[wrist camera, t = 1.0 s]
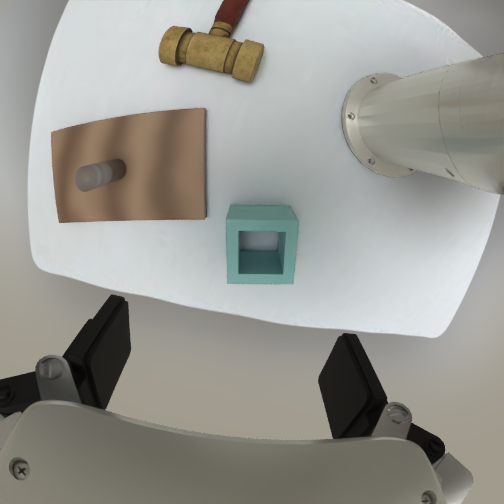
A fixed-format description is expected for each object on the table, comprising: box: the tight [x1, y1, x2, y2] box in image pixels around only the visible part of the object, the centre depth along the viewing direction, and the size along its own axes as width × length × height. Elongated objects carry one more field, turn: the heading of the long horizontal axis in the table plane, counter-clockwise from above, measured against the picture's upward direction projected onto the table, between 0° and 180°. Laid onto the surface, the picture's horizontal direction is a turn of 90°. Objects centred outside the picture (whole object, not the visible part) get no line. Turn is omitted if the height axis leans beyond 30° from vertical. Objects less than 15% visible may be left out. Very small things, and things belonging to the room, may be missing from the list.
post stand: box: [51, 108, 207, 223], centre depth 25 cm, size 20×12×8 cm, turn 89°
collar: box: [226, 205, 299, 284], centre depth 29 cm, size 7×7×6 cm
